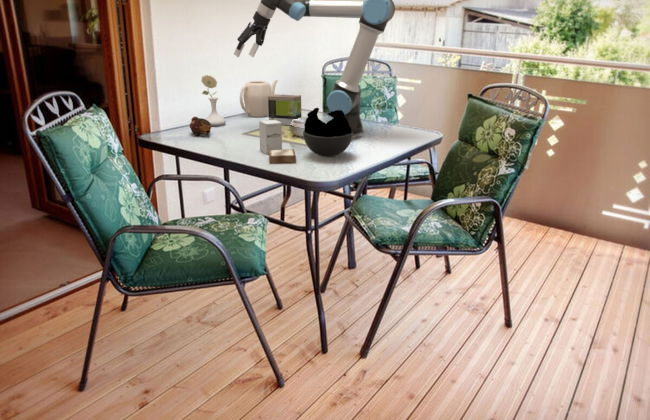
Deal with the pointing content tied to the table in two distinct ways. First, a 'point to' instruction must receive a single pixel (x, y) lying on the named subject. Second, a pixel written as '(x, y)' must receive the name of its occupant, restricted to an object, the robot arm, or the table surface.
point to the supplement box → (270, 135)
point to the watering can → (256, 97)
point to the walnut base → (282, 156)
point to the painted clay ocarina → (200, 126)
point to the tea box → (284, 108)
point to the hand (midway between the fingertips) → (243, 55)
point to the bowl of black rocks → (327, 133)
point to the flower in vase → (212, 102)
